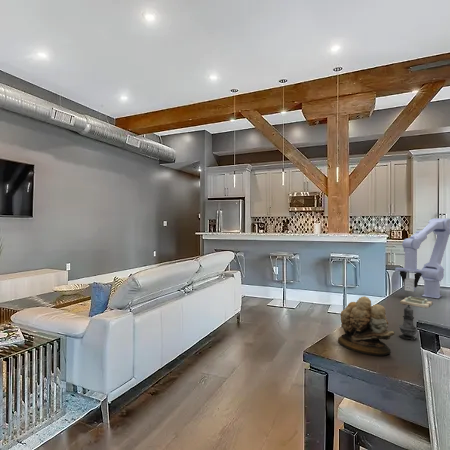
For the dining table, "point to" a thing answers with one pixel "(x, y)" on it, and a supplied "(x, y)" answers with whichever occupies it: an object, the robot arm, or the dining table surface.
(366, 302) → the owl figurine
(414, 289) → the block
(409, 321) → the grey chess piece
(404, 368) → the dining table surface
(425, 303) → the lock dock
